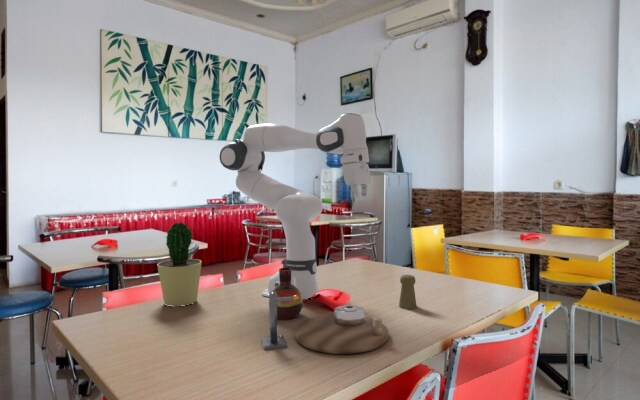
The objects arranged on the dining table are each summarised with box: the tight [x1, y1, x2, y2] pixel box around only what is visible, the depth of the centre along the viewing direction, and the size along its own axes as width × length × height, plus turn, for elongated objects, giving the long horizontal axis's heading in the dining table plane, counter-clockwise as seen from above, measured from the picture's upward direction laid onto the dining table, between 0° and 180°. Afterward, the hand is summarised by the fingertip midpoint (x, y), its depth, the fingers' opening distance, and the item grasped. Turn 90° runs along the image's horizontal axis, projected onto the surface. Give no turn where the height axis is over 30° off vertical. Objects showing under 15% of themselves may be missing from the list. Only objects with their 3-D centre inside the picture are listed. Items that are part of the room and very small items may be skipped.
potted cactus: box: [156, 222, 202, 306], centre depth 148 cm, size 15×15×30 cm
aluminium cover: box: [333, 304, 366, 327], centre depth 121 cm, size 9×9×4 cm
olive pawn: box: [398, 274, 418, 310], centre depth 141 cm, size 6×6×11 cm
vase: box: [272, 267, 304, 320], centre depth 133 cm, size 11×11×15 cm
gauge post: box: [260, 292, 299, 351], centre depth 110 cm, size 10×6×14 cm, turn 105°
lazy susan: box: [294, 314, 389, 355], centre depth 115 cm, size 26×26×6 cm
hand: (360, 197), depth 145 cm, fingers open, 8 cm apart
